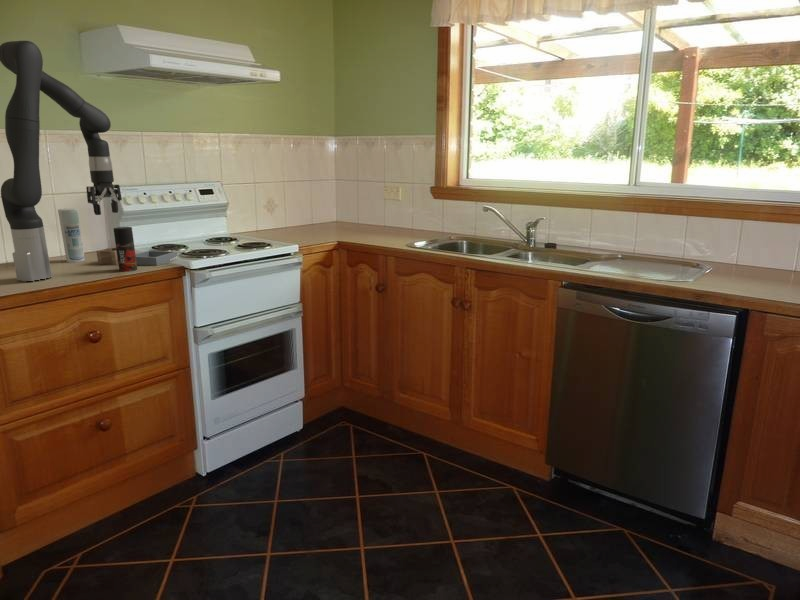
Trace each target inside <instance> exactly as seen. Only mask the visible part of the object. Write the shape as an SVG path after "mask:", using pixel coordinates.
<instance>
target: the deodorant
mask: <svg viewBox="0 0 800 600" xmlns="http://www.w3.org/2000/svg"><path fill="white" fill-rule="evenodd" d="M112 229H113V236H114V242H115V248H116V251H117V258H118V265H117V266H118V270H119V272H122V273H125V272H127V273H128V272H135V271H137V270H138V265H137V263H136V255H135V254H136V248H135V240H134V233H133V227H132V226H119V227H113V228H112Z"/></svg>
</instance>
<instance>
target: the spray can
mask: <svg viewBox="0 0 800 600" xmlns="http://www.w3.org/2000/svg"><path fill="white" fill-rule="evenodd" d="M78 211H79V210H78V208H75V207H69V208H67V207H66V208H59V209H57V212H58V219H59V224H60V225H59V226H60V230H61V231H60V232H61V235H62V243H63V247H64V253H65V254H64V255H65V259H66V262H67V263H78V262H79V263H80V262H84V261H85V259H86V258H85V252H84V245H83V239H82V232H81V225H80V224H81V223H80V217H79V212H78Z"/></svg>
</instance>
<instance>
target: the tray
mask: <svg viewBox="0 0 800 600" xmlns="http://www.w3.org/2000/svg"><path fill="white" fill-rule="evenodd" d="M135 255H136V263H137V266H155V267H156V266H161V265H163V264H167V263H170V262H171V261H170V259H172V258H174V257H176V256H177V257H178V251H173V250H172V251H170V250H167V251H166V250H146V251H142V252H138V253H135ZM169 261H170V262H169Z"/></svg>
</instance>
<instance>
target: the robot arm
mask: <svg viewBox="0 0 800 600" xmlns="http://www.w3.org/2000/svg"><path fill="white" fill-rule="evenodd" d="M0 63H1V65H2V66H3V67H5V68H6V69H7V70H9V71H10V72H12V73H13V74H14V75H15V77H16V78H15V79H16V81H15V87H14V91H13V93H12V95H11V97H10V100H9V102H8V104H7V106H6V109H5V115H4V124H5V125H4V126H5V127H4V128H5V129H4V132H5V138H6V141H7V144H8V147H9V150H10V152H11V155H12V159H13V177H11V178H8V179H6V180H4V182H3V183H2V184H1V188H0V198H1V203H2V207H3V211H4V216H5V218H6V220H7V222H8V225H9V227H10V233H11V238H12V243H13V249H14V252H12V259H13V264H14V269H15V274H16V275H15V276H16V281H17V280H22V281H21V282H26V281H33V282H35V281H34V280H39V281H41V280H40V279H45V280H47V279H46V278H49V279H51V278H53V275H52V267H51V264H50V258H49V257H50V256H49V252H48V251H49V250H48V247H47V246H48V245H47V240H46V234H45V233H46V232H45V228H44V222H43V219H42V218H41V216H39V214H38V213H37V211H36V208H35V206H36V205H38V204H39V203H40V202H41V200H42V196H43V194H42V193H43V190H42V189H43V188H42V180H41V170H40V136H41V135H40V129H41V128H40V127H41V125H40V123H41V121H40V105H41V104H40V97H41V96H40V94H41V92H42V93H43V94H44V95H46V96H47V97H49V98H50V99H51V100H53V102H55V104H57V105H59V106H60V107H61V109H63V110H65V112H66V113H68V114H69V115H70V116H72V117H73V118H76V119H77V118H78V119H79V123H78V124H79V128H80V131H81V134H82V137H83V139H84V141H85V144H86V146H87V154H88V166H89V174H90V182H91V183H92V184H93V186H86V189H85V190H86V198H87V203H88V204H91V205H92V207H93V213H94V215H96V216H100V215H102V211H101V204H100V203H101V201H102V200H103V199H104V198H107V199H109V201H110V202H111V203H110V205H111V213H112V214H113V213H114V214H117V213H119V205H118V203H119V202H120V201H122V194H121V187H120V185H119V184H113V183H114V180H115V179H114V178H115V177H114V172H113V164H112V160H111V155H110V146H109V143H108V142H107V141H106V140H104V139H101V137H100V134H104V133H106V132H108V131H110V129H111V127H112V125H111V124H112V123H111V120H110V118H109V117H108V115H107V114H106V113H105V112H104V111H102V110H101V109H100V108H98V107H97V106H94V105H93V104H91V103H89V102H87V101H86V100H85V99H84V98H83V97H82V96H80V95H79V94H78V93H77V92H76V91H75V90H73V89H72V87H70V86H69V85H67V84H65V83H64V82H62V81H60V80H58V79H56V78H54V77H53V76H51V75H49V74H48V73H46V72H45V71H44V70H43V65H44V59H43V54H42V52H41V49H40V47H38V45H37V44H35V43H34V42H33V41H30V40H15V41H14V40H11V41H5V42H3V43H1V44H0ZM99 133H100V134H99ZM50 277H51V278H50Z"/></svg>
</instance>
